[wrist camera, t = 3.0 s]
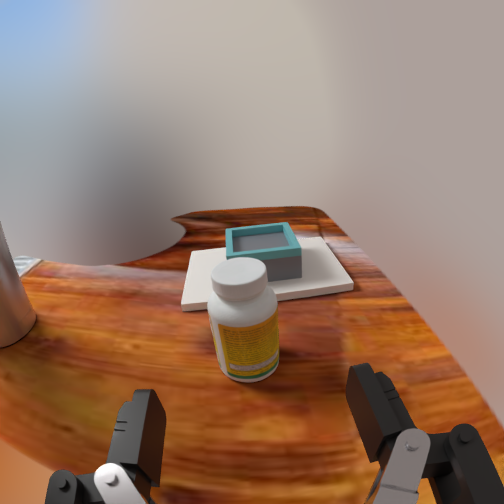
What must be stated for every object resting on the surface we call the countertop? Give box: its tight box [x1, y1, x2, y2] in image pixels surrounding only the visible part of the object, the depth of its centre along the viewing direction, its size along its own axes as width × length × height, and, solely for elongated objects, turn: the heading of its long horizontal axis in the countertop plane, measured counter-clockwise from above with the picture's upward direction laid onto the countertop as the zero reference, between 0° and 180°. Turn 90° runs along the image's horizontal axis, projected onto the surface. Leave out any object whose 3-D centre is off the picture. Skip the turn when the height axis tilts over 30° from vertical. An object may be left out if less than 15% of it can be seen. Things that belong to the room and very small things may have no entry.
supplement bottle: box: [207, 257, 279, 382], centre depth 24 cm, size 5×5×10 cm
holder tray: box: [181, 222, 354, 311], centre depth 39 cm, size 20×14×5 cm
